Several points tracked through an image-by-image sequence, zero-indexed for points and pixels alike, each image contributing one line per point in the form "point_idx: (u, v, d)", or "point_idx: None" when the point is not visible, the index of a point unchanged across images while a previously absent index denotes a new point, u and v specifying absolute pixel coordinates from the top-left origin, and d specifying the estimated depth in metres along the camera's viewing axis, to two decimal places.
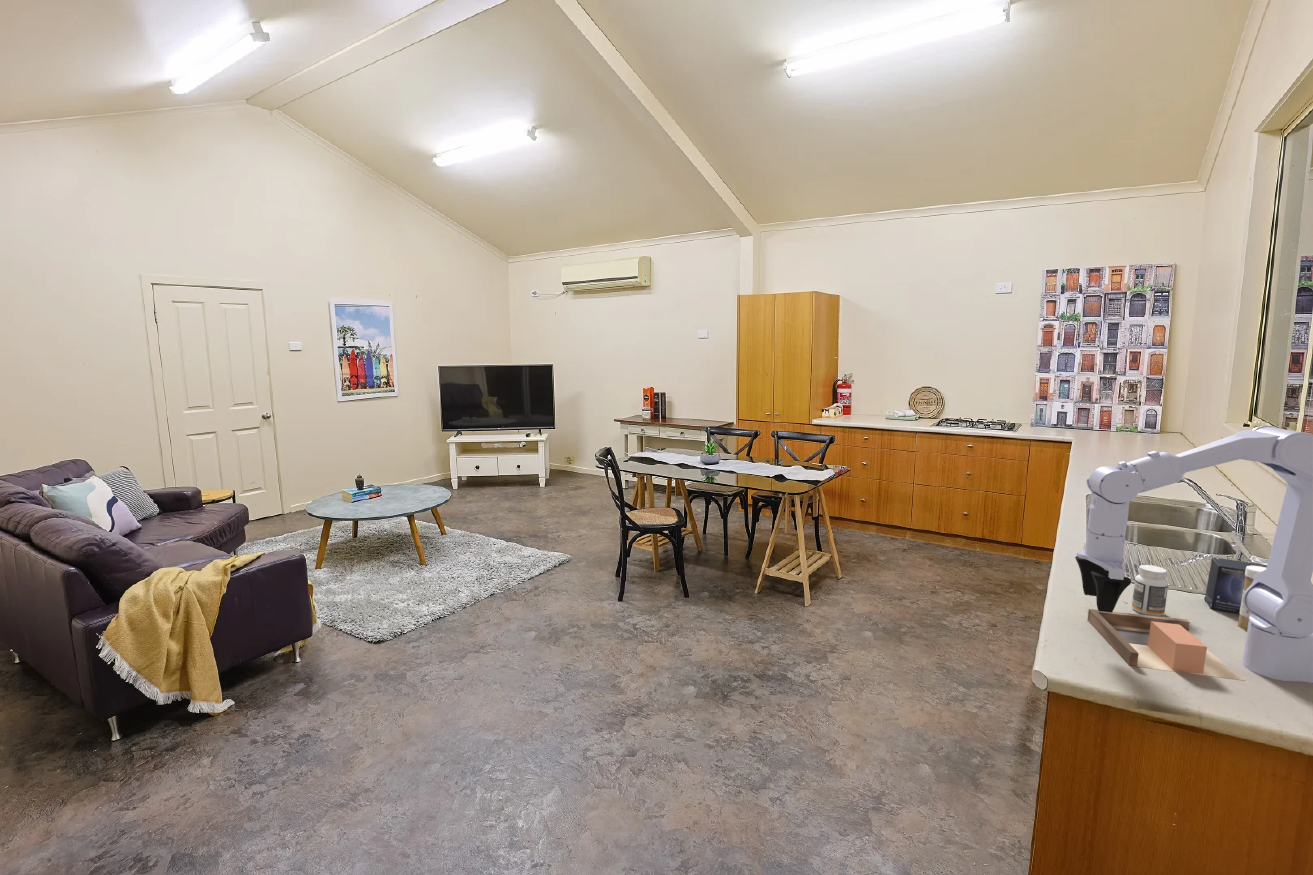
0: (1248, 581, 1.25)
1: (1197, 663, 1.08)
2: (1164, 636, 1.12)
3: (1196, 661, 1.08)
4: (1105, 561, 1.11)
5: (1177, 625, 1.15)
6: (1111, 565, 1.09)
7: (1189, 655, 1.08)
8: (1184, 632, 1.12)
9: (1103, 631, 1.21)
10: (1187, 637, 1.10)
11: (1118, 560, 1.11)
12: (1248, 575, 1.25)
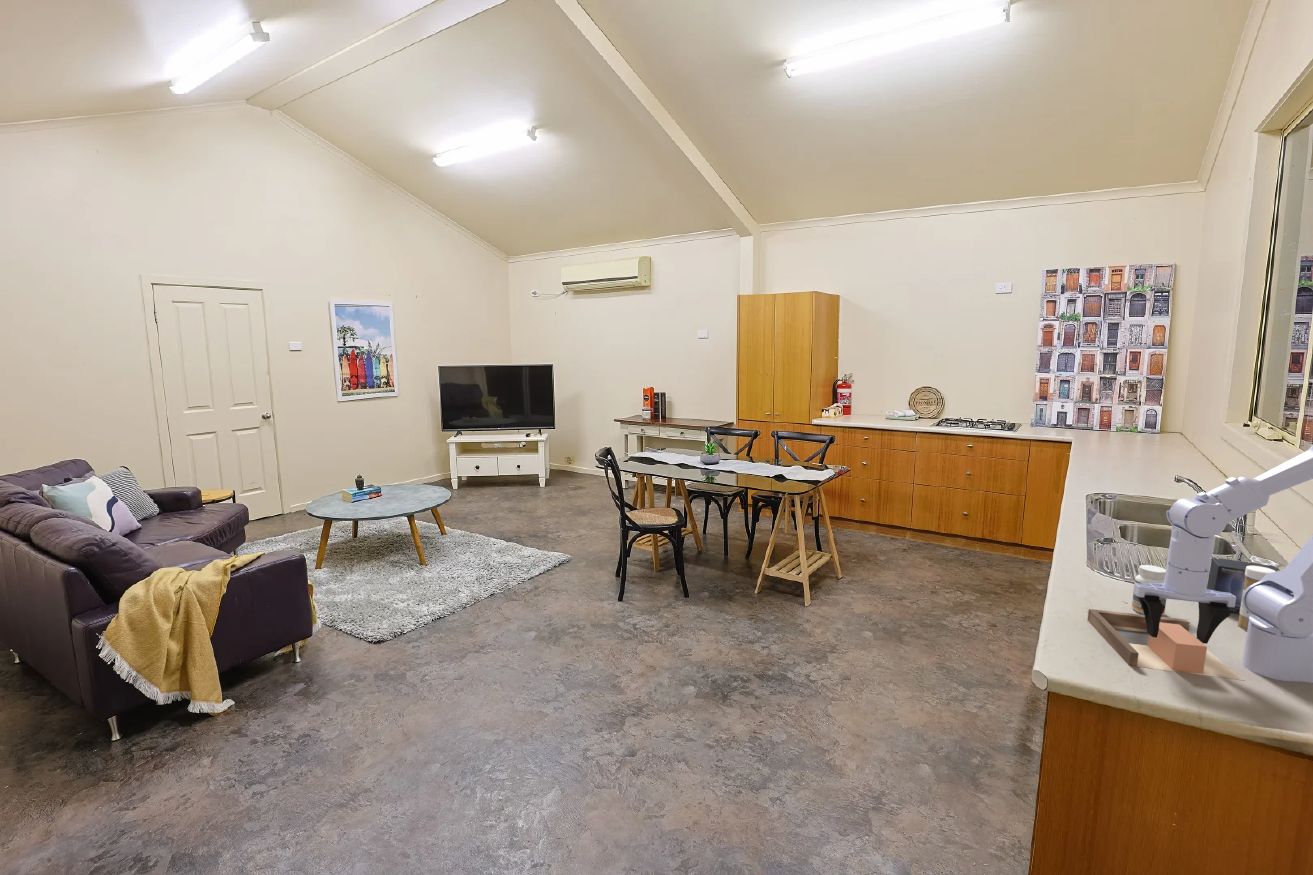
0: (1248, 581, 1.25)
1: (1197, 663, 1.08)
2: (1164, 636, 1.12)
3: (1196, 661, 1.08)
4: None
5: (1177, 625, 1.15)
6: None
7: (1189, 655, 1.08)
8: (1184, 632, 1.12)
9: (1103, 631, 1.21)
10: (1187, 637, 1.10)
11: (1172, 591, 1.10)
12: (1248, 575, 1.25)
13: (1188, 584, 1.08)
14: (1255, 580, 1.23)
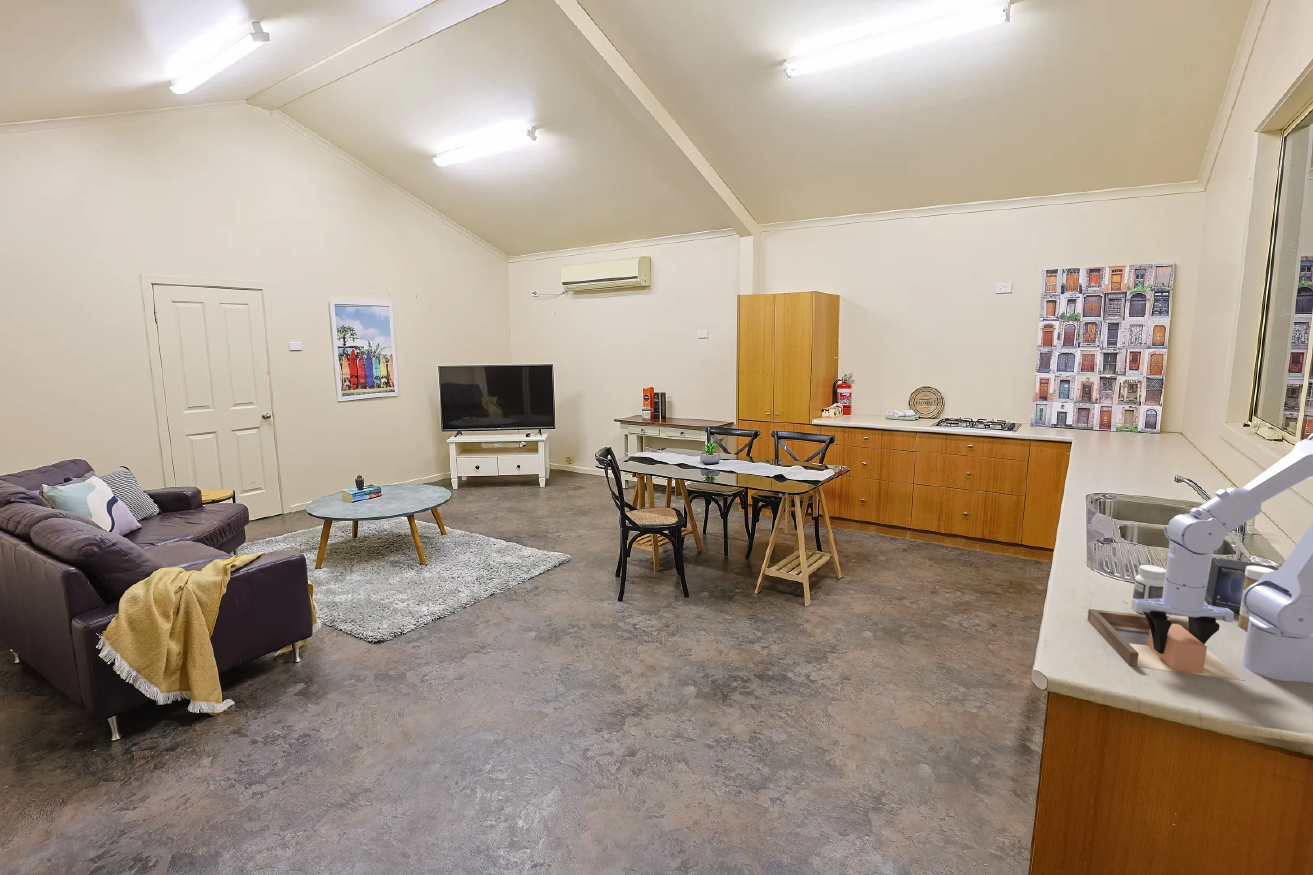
0: (1248, 581, 1.25)
1: (1197, 663, 1.08)
2: None
3: (1196, 661, 1.08)
4: (1160, 602, 1.12)
5: (1177, 625, 1.15)
6: None
7: (1189, 655, 1.08)
8: (1184, 632, 1.12)
9: (1103, 631, 1.21)
10: (1187, 637, 1.10)
11: (1170, 606, 1.10)
12: (1248, 575, 1.25)
13: (1186, 600, 1.08)
14: (1255, 580, 1.23)
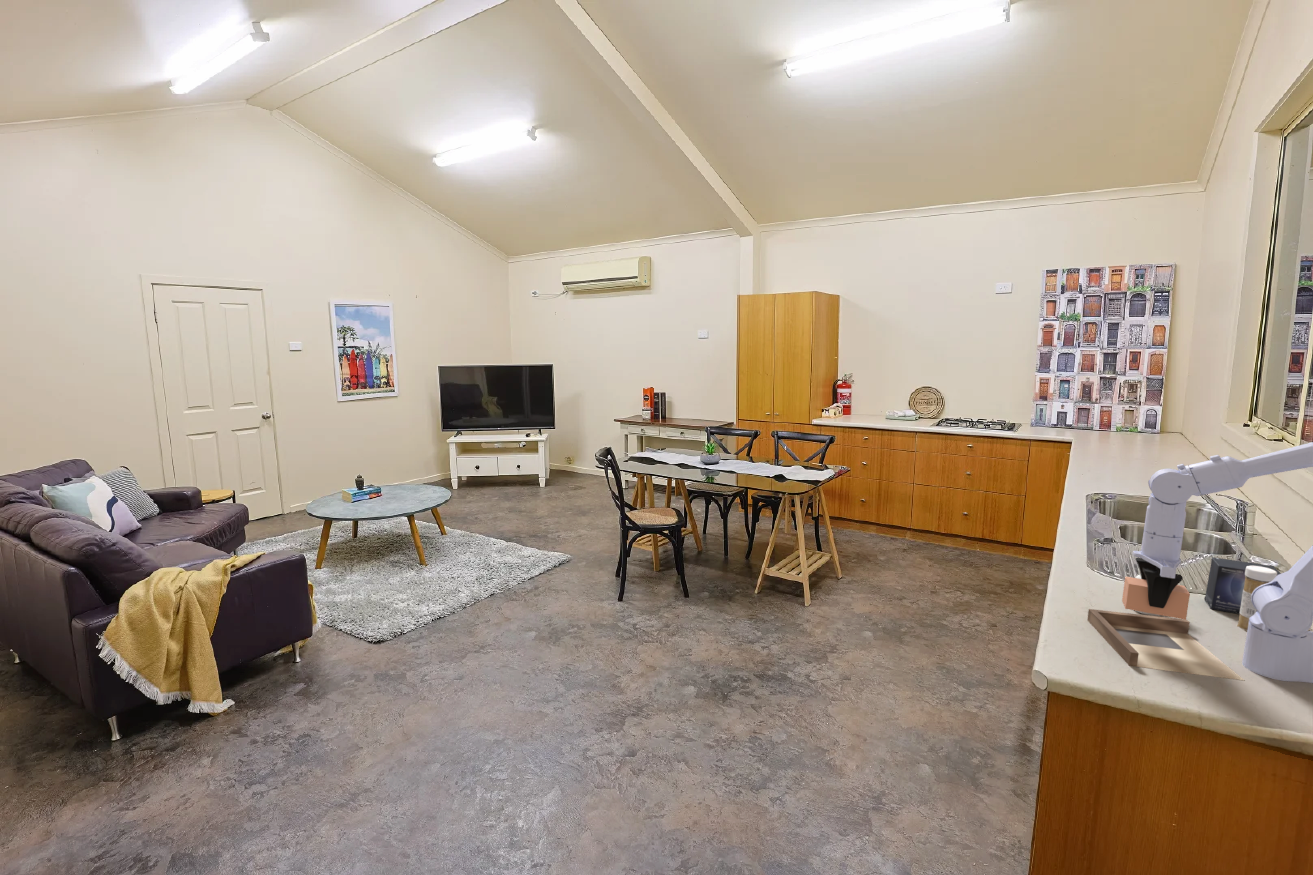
0: (1248, 581, 1.25)
1: None
2: None
3: None
4: (1159, 560, 1.14)
5: (1130, 578, 1.20)
6: (1164, 564, 1.12)
7: None
8: None
9: (1103, 631, 1.21)
10: None
11: (1173, 560, 1.13)
12: (1248, 575, 1.25)
13: (1180, 549, 1.14)
14: (1255, 580, 1.23)
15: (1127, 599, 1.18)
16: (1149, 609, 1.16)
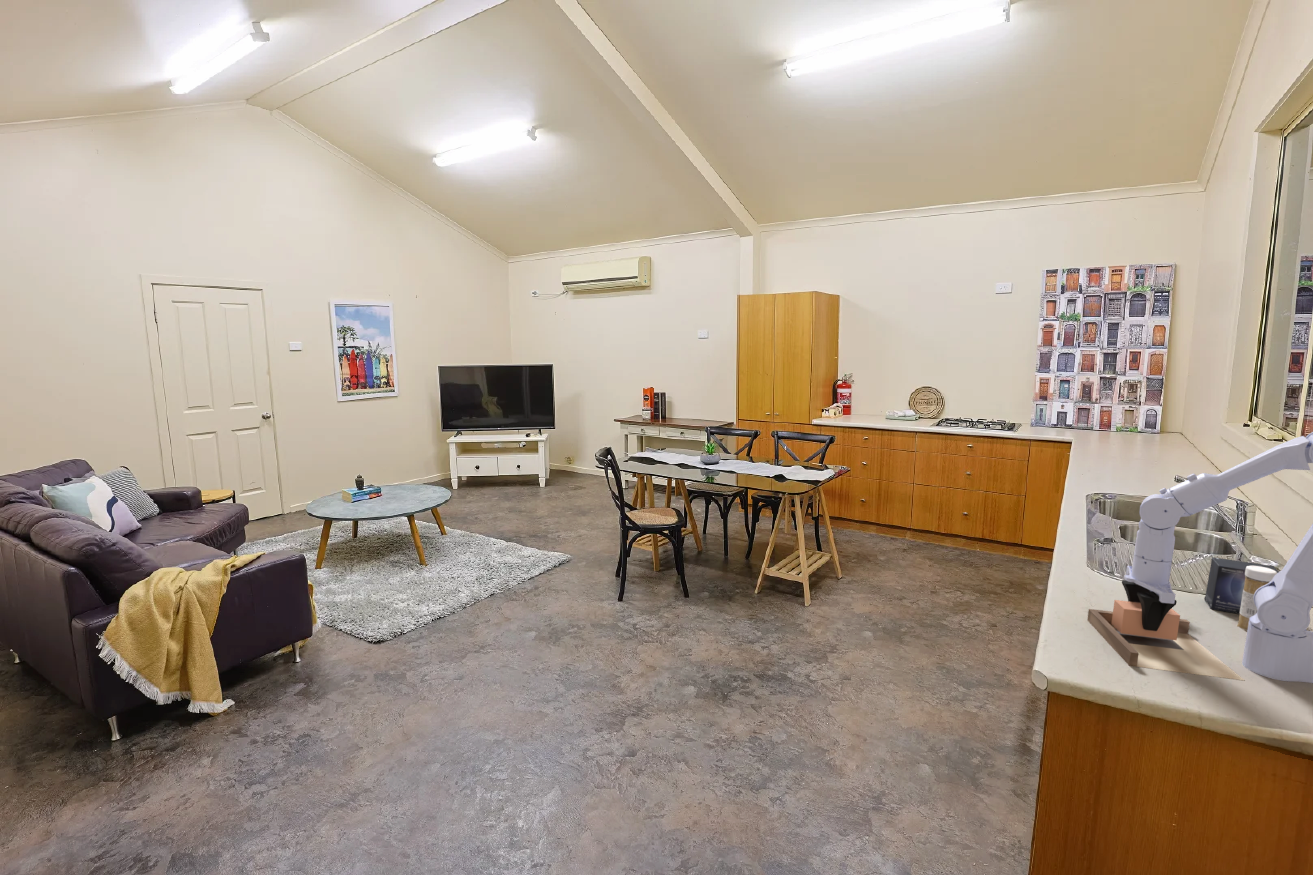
0: (1248, 581, 1.25)
1: None
2: None
3: None
4: (1153, 585, 1.16)
5: (1119, 601, 1.22)
6: (1161, 589, 1.14)
7: None
8: (1139, 604, 1.21)
9: (1103, 631, 1.21)
10: None
11: (1166, 584, 1.16)
12: (1248, 575, 1.25)
13: None
14: (1255, 580, 1.23)
15: (1122, 624, 1.19)
16: (1143, 632, 1.18)
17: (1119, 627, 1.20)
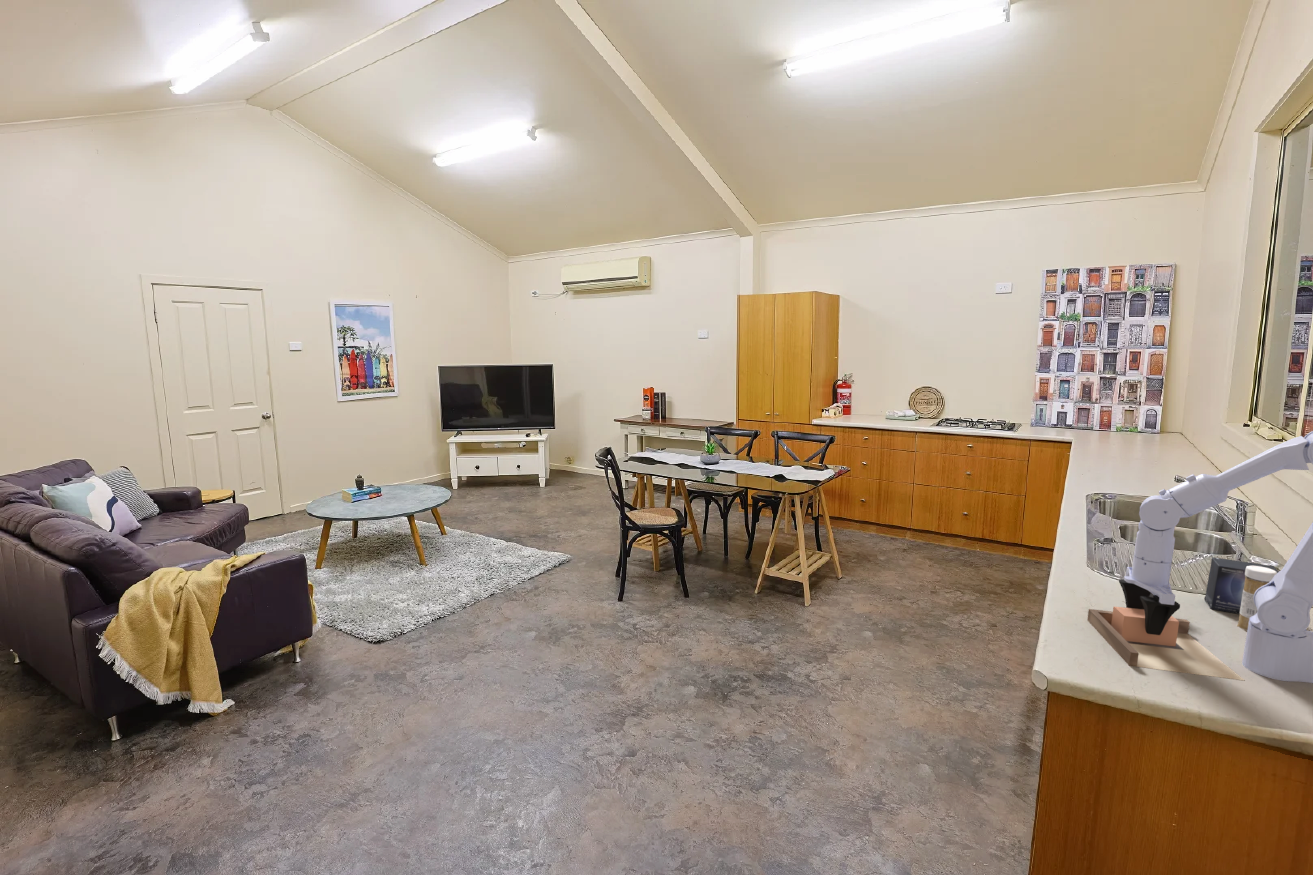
0: (1248, 581, 1.25)
1: None
2: None
3: None
4: (1153, 586, 1.16)
5: (1119, 607, 1.22)
6: (1161, 590, 1.14)
7: None
8: (1138, 610, 1.21)
9: (1103, 631, 1.21)
10: None
11: (1165, 585, 1.16)
12: (1248, 575, 1.25)
13: None
14: (1255, 580, 1.23)
15: (1122, 631, 1.19)
16: (1142, 639, 1.19)
17: None
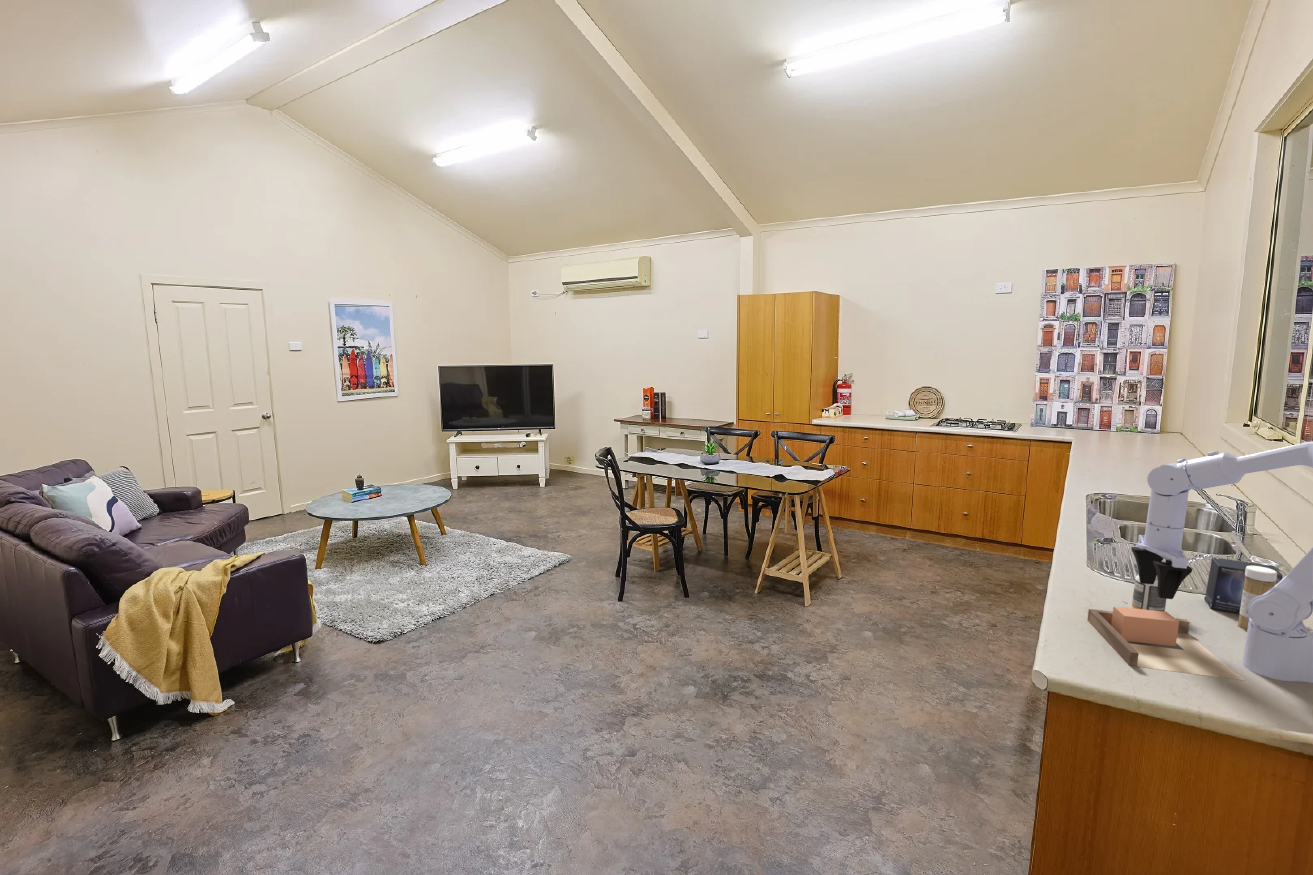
0: (1248, 581, 1.25)
1: None
2: (1154, 622, 1.18)
3: None
4: (1166, 551, 1.19)
5: (1119, 607, 1.22)
6: (1173, 555, 1.17)
7: None
8: (1138, 610, 1.21)
9: (1103, 631, 1.21)
10: (1150, 612, 1.20)
11: (1178, 550, 1.19)
12: (1248, 575, 1.25)
13: None
14: (1255, 580, 1.23)
15: (1122, 631, 1.19)
16: (1142, 639, 1.19)
17: None
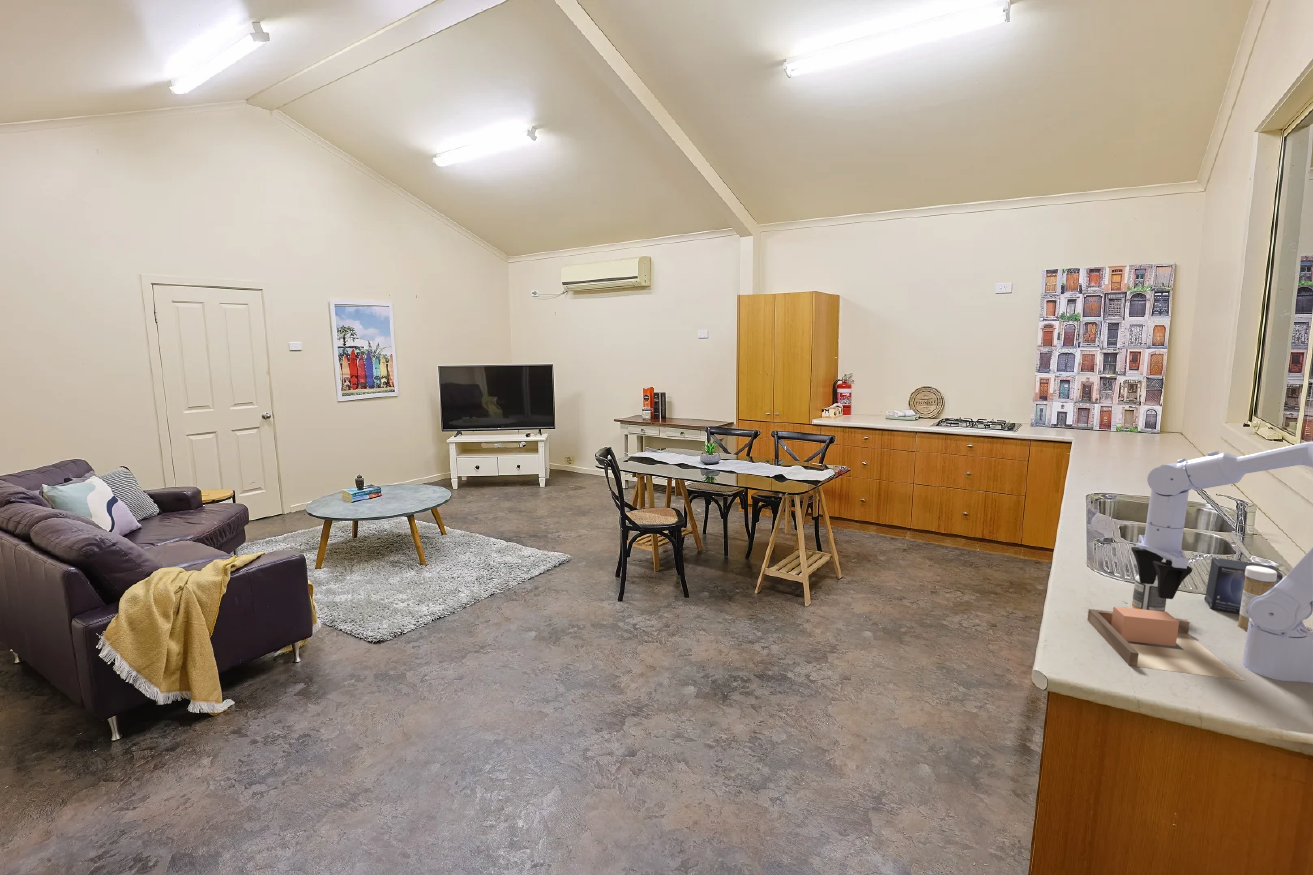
0: (1248, 581, 1.25)
1: None
2: (1154, 622, 1.18)
3: None
4: (1166, 551, 1.19)
5: (1119, 607, 1.22)
6: (1173, 555, 1.17)
7: None
8: (1138, 610, 1.21)
9: (1103, 631, 1.21)
10: (1150, 612, 1.20)
11: (1178, 550, 1.19)
12: (1248, 575, 1.25)
13: None
14: (1255, 580, 1.23)
15: (1122, 631, 1.19)
16: (1142, 639, 1.19)
17: None
